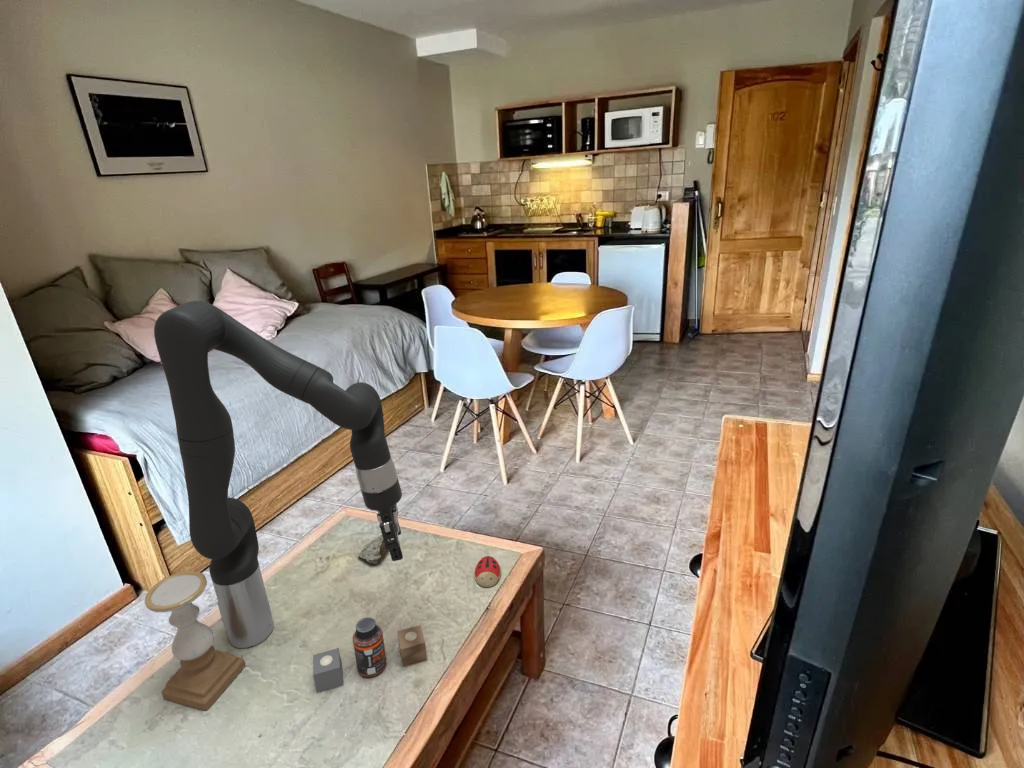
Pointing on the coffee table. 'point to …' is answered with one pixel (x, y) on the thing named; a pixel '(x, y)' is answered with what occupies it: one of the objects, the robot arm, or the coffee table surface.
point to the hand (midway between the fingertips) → (397, 546)
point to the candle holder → (192, 643)
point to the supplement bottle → (369, 648)
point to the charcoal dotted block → (327, 670)
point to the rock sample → (373, 550)
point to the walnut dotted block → (412, 645)
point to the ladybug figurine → (487, 572)
